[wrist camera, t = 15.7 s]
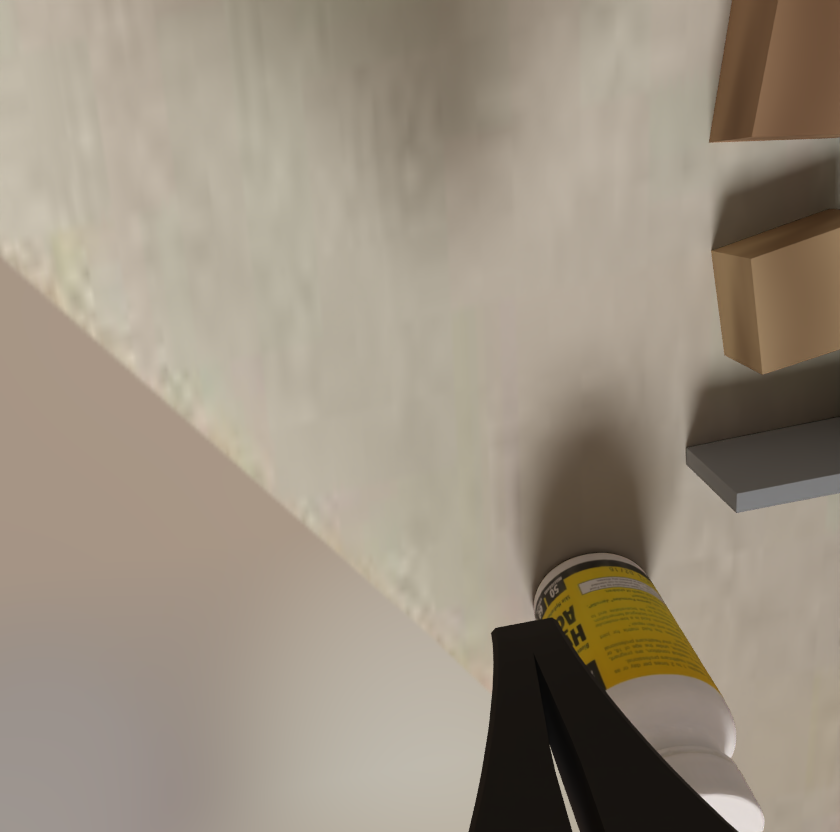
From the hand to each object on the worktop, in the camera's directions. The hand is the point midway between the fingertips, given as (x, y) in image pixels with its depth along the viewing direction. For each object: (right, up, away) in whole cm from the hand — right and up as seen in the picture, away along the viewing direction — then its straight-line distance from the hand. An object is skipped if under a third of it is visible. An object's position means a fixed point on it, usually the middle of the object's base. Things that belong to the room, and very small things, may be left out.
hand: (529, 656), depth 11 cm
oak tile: (+10, +10, +8) cm, 16 cm away
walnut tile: (+9, +16, +5) cm, 19 cm away
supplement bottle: (+5, -3, +13) cm, 14 cm away
